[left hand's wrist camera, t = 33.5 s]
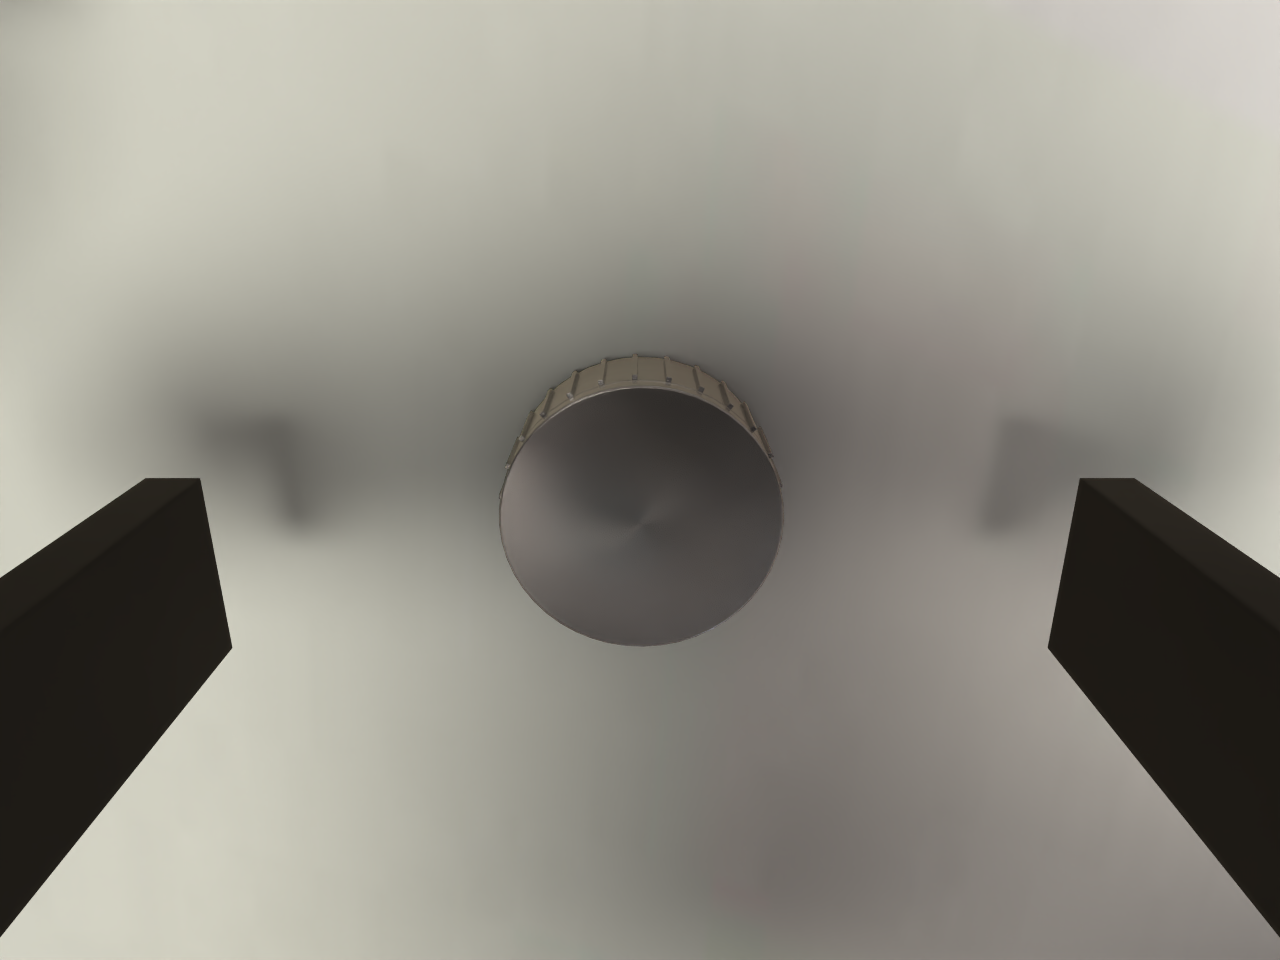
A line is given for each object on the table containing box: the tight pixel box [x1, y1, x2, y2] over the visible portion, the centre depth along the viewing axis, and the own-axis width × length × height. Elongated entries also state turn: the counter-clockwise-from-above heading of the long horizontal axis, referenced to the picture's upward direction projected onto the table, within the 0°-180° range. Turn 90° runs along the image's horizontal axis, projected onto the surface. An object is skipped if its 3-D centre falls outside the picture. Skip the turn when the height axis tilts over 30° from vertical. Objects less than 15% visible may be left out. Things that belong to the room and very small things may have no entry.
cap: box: [499, 354, 784, 646], centre depth 15 cm, size 5×5×2 cm
